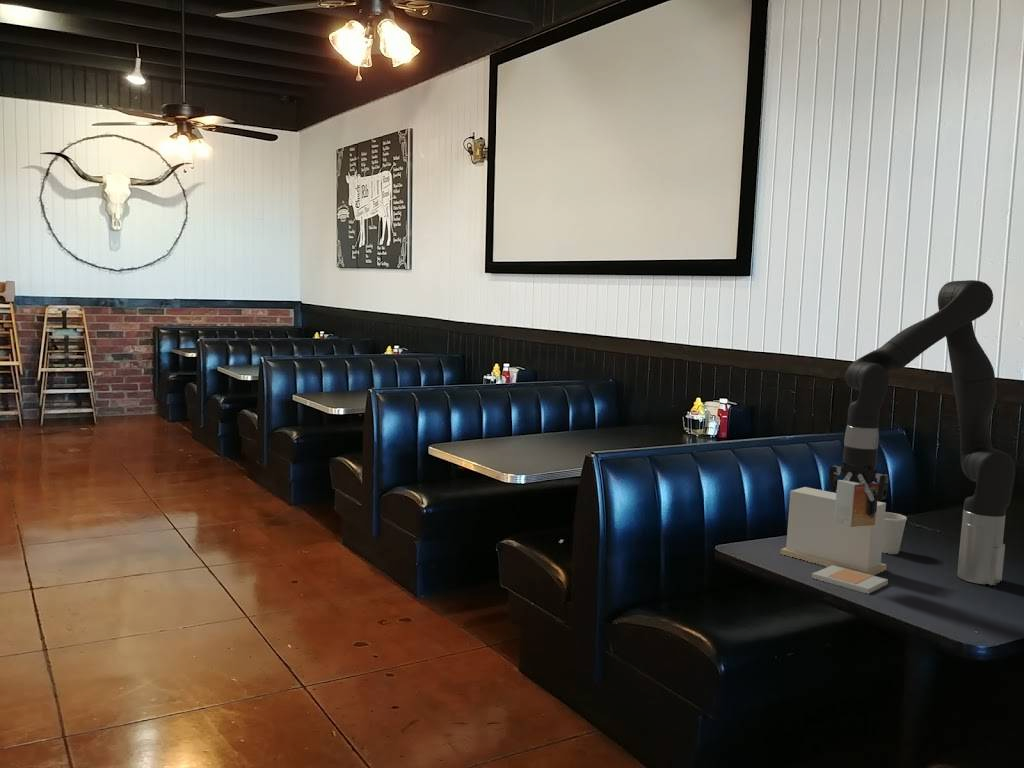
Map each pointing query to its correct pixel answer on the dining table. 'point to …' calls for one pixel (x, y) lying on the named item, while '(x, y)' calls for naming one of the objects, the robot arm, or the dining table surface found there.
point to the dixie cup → (893, 532)
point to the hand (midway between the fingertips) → (855, 512)
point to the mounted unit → (832, 534)
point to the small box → (853, 504)
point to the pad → (850, 579)
